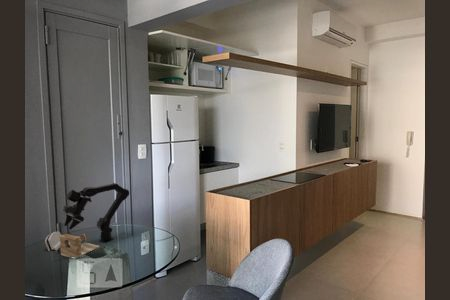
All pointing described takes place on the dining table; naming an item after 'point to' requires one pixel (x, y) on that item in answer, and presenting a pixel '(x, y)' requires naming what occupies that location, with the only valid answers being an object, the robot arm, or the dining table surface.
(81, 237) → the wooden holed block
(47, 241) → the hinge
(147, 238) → the dining table surface
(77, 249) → the bearing stand
